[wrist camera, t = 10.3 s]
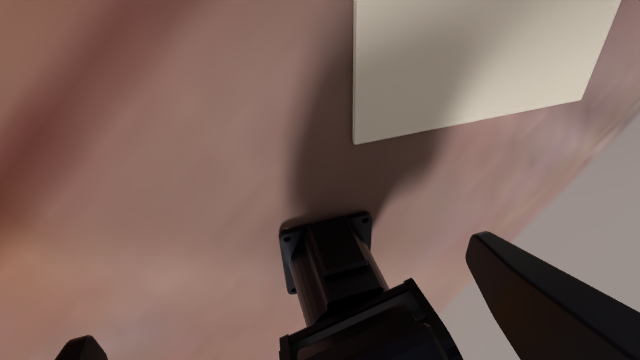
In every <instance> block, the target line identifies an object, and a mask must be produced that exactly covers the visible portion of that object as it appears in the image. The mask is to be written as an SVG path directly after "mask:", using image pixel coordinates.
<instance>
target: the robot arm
mask: <svg viewBox="0 0 640 360" xmlns="http://www.w3.org/2000/svg"><path fill="white" fill-rule="evenodd" d="M364 218H365V219H364ZM371 229H372V217H371V215H370V214H369V212H366V211H365V212H359V213H355V214H351V215H347V216H342V217H338V218H334V219H330V220H325V221H321V222H317V223H313V224H308V225H304V226H300V227H295V228H291V229H287V230H284V231H282V232H280V234H279V242H280V249H281V255H282V261H283V268H284V274H285V280H286V286H287V291H288V293H289V294H298V298H299V301H300V305H301V308H302V312H303V315H304V319H305V322H306V326H307V327H306V328H304V329H302V330H300V331H297V332H295V333H293V334H291V335H288V334H287V335H285V336H283V337H281V338H280V351H279V358H280V360H463V358H462V356H461V354H460V352H459V350H458V348H457V346H456V344H455V342H454V341H453V339H452V337H451V335H450V333H449V332H448V330H447V328H446V327H445V325H444V324H443V322H442V321H441V319H440V318H439V316H438V315H437V313H436V312H435V311H434V309H433V308H432V306H431V305H430V303H429V302H428V300H427V299H426V297H425V296H424V295H423V293H422V292H421V290H420V289H419V287H418V286H417V284H416V283H415V282H414V280H413V279H412V278H410V279H407V280H405V281H404V283H402V284H400V285H398V286H396V287H394V288H391V289H389V287H388V285H387V283H386V281H385V279H384V277H383V275H382V274H381V272H380V270H379V268H378V266H377V264H376V262H375V260H374V258H373V256H372V254H371V252H370V248H371ZM285 237H287V238H285ZM466 263H467V265H468V267H469V269H470V271H471V273H472V275H473V277H474V279H475V281H476V283H477V285H478V287H479V289H480V291H481V293H482V295H483V297H484V299H485V301H486V303H487V305H488V307H489V309H490V311H491V313H492V314H493V317H494V318H495V320H496V321H497V323H498V325H499V327H500V328H501V330H502V331H503V333H504V334H505V336H506V337H507V339H508V341H509V342H510V344H511V345H512V347H513V348H514V350H515V352H516V353H517V355H518V356H519V358H520V359H521V360H640V312H638V311H636V310H634V309H632V308H630V307H628V306H627V305H625V304H623V303H621V302H619V301H617V300H615V299H613V298H612V297H610V296H608V295H606V294H604V293H602V292H601V291H599V290H597V289H595V288H593V287H591V286H589V285H588V284H586V283H584V282H582V281H580V280H578V279H576V278H575V277H573V276H571V275H569V274H567V273H565V272H563V271H562V270H559V269H558V268H556V267H554V266H552V265H550V264H548V263H547V262H545V261H543V260H541V259H539V258H537V257H536V256H534V255H532V254H530V253H528V252H526V251H524V250H522V249H521V248H519V247H517V246H515V245H513V244H511V243H510V242H508V241H506V240H504V239H502V238H500V237H498V236H496V235H495V234H493V233H491V232H488V231H484V232H480V233H476V234H473V235H472V236H471V238H470V241H469V245H468V248H467V252H466ZM55 360H108V358H107V355H106V353H105V352H104V350H103V349H102V348H101V347H100V345H99V344H98V343H97V341H96V340H95V339H94V337H93V336H90V335H86V336H82V337H79V338H75V339H72V340H70V341H68V342H67V343H66V344H65V346H64V347H63V349H62V350H61V351H60V353H59V354H58V356H57V357H56V359H55Z"/></svg>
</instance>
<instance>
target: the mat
mask: <svg viewBox="0 0 640 360" xmlns="http://www.w3.org/2000/svg"><path fill="white" fill-rule="evenodd" d="M620 2H621V0H354V14H353V143H354V144H355V145H357V144H362V143H367V142H372V141H377V140H382V139H387V138H392V137H397V136H402V135H407V134H412V133H417V132H422V131H427V130H432V129H437V128H443V127H448V126H453V125H458V124H463V123H468V122H473V121H478V120H483V119H488V118H493V117H498V116H503V115H508V114H513V113H518V112H523V111H528V110H533V109H538V108H543V107H548V106H553V105H558V104H563V103H568V102H573V101H578V100H581V99H582V96H583V94H584V91H585V89H586V86H587V84H588V81H589V79H590V76H591V74H592V71H593V69H594V67H595V64H596V62H597V59H598V57H599V54H600V52H601V49H602V47H603V44H604V42H605V39H606V37H607V34H608V32H609V29H610V27H611V24H612V22H613V19H614V17H615V14H616V12H617V10H618V7H619V5H620Z"/></svg>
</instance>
